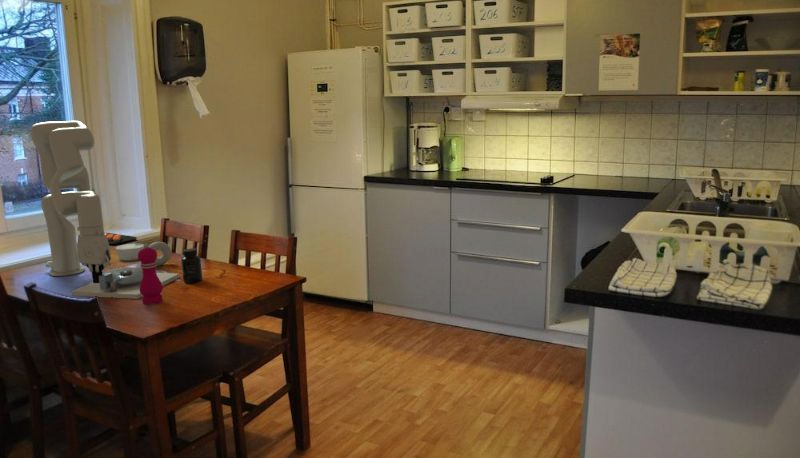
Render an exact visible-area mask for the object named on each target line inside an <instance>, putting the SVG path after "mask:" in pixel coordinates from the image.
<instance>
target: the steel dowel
mask: <svg viewBox="0 0 800 458" xmlns="http://www.w3.org/2000/svg"><path fill="white" fill-rule="evenodd" d="M109 285H110V292H116V291H117V290H116V282H115V281H110V282H109Z"/></svg>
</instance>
